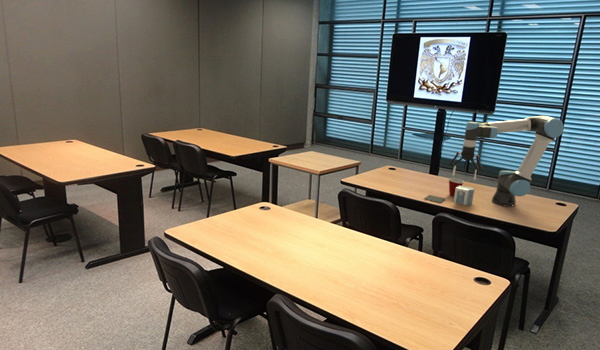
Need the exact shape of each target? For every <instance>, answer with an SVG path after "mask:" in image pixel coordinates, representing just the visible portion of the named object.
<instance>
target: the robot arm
mask: <svg viewBox="0 0 600 350" xmlns="http://www.w3.org/2000/svg"><path fill="white" fill-rule="evenodd" d="M564 127H565V126H564V123H563V121H562V120H560V119H559V118H556V117H551V116H548V115H537V116H528V117H525V118H524V119H523V118H522V119H513V120H504V121H503V120H501V121H492V122H477V121H476V122H475V121H468V122H466V125H465V133H464V138H463V144H462V145H463V146H462V150H461V152H460V151H457V152H456V154H455V156H453V158H452V160H451V161H450V162H449V165H451V171H452V175H451V176H452V177H454V176H455V175H456V169H457V164H458V163H460V162H461V161H462V160H464V161H468V162H469V161H470V162H471V163H472V165H473V167H474V168H475V171H474V174H473V175H474V176H473V180H474V181H476V180H477V176H478V175H479V174H480V173H479V172H480V171H482V170H483V165H482V163H481V160H480V154H475V151H476V146H477V145H476V144H477V140H478V139H477V138H481V139H496V138H497V137H498V134H504V133H512V132H524V131H525V132H527V133H529V132H532V133H534V136H535V138H534V140H533V141H532V143H531V145H530V147H529V148H528V151H527V152H526V154H525V156H524V158H523V160H522V161H521V164H520V166H519V167H518V169H517V170H516V171H514V170H513V171H512V170H500V171H499V174H498V180H497V186H496V189H495V192H494V194H493V196H492V199H491V202H492V203H493V204H495V205H499V206H503V205H506V206H505V207H513V206H512V205H515V206H516V203H517V201H516V197H523V196H526V195H528V193H529V192H530V191H531V184H530V183H531V182H532V180H533V179H532V177H531V176H532V174H533V172H534V171H535V169H536V168H537V165H538V164H539V162H540V161H541V159H542V157H543V155H544V153H545V152H546V149H547V147H548V146H549V145H550V144H551V143H553V142H554V141H555V139H556V138H558V137H559V136H561V135H562V134H563V132H564V129H565V128H564ZM459 156H461V157H460V158H459V159H458V157H459ZM474 158H475V159H474ZM457 159H458V160H457ZM456 160H457V161H456ZM475 160H476V161H475Z"/></svg>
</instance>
